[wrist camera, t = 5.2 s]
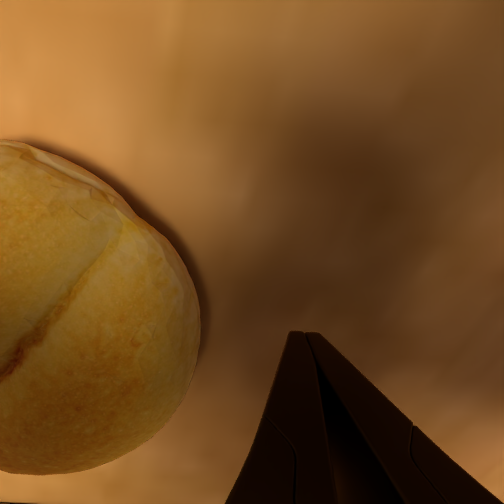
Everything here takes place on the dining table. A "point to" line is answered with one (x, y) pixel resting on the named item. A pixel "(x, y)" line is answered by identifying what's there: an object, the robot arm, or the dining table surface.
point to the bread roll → (84, 319)
